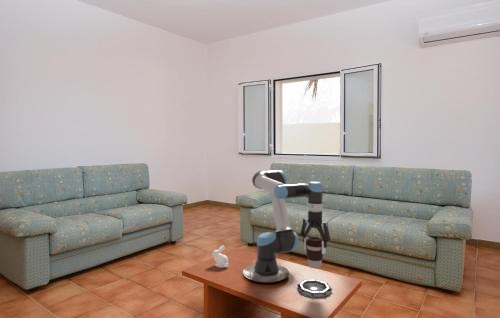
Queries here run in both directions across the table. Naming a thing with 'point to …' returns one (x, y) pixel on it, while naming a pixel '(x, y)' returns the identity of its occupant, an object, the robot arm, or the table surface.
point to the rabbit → (220, 258)
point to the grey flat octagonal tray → (314, 288)
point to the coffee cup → (314, 252)
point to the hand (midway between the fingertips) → (314, 251)
